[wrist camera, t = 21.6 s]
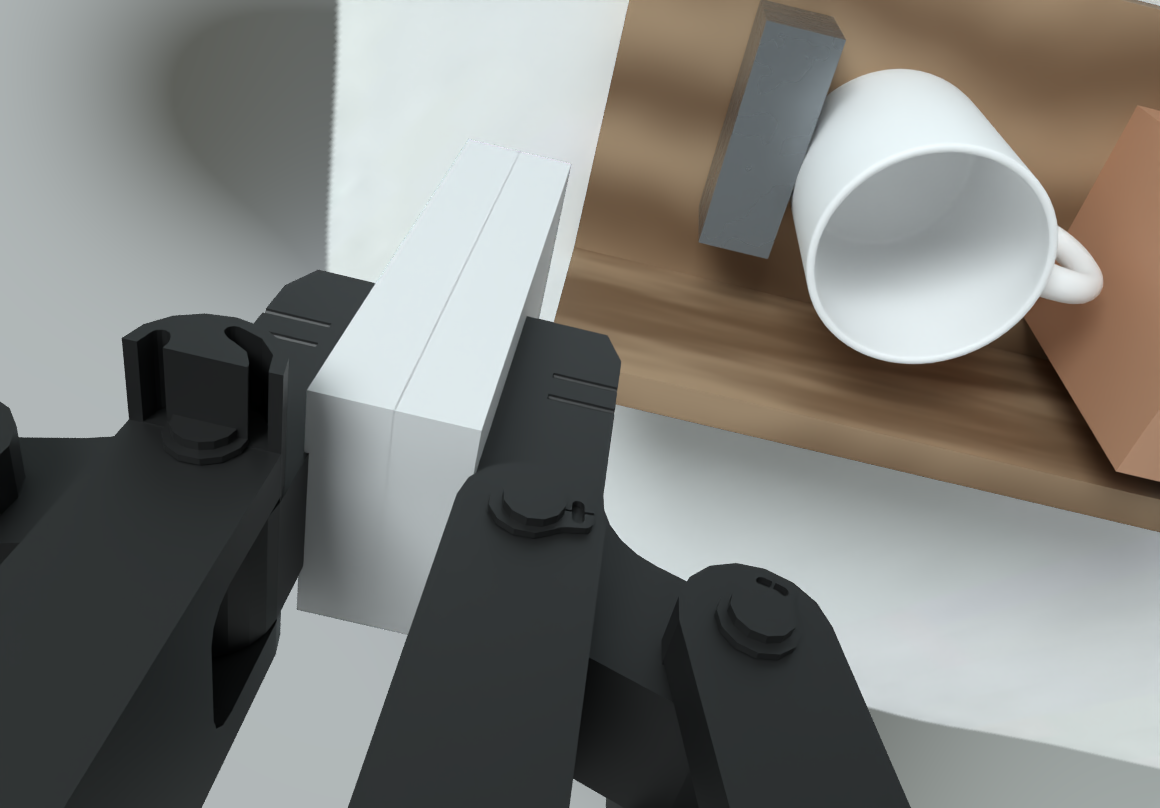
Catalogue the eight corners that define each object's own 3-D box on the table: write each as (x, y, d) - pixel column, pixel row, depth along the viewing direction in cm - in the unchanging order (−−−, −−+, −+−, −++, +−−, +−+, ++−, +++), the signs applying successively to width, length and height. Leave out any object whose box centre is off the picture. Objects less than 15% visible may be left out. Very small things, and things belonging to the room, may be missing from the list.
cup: (832, 37, 38) (870, 111, 29) (1104, 125, 39) (1216, 222, 30) (756, 219, 42) (770, 327, 34) (1000, 295, 43) (1072, 419, 35)
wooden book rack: (657, -121, 37) (641, -85, 27) (1331, 49, 37) (1545, 141, 28) (571, 261, 46) (538, 385, 37) (1109, 390, 47) (1212, 544, 38)
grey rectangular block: (760, -2, 37) (766, 20, 34) (833, 16, 37) (846, 40, 34) (698, 206, 42) (698, 242, 39) (762, 221, 42) (767, 259, 39)
